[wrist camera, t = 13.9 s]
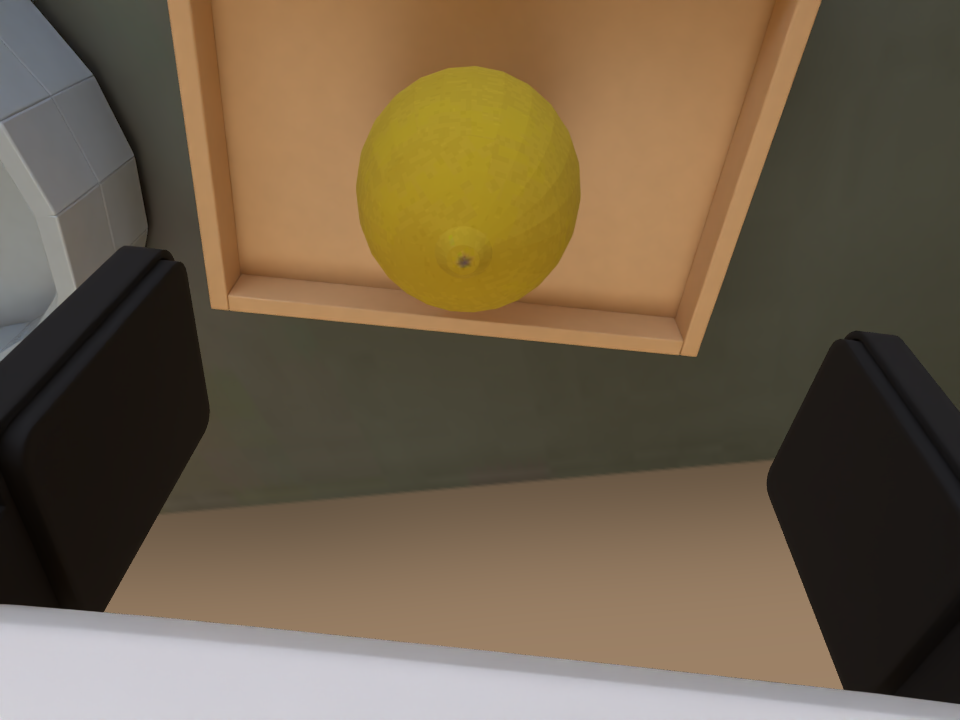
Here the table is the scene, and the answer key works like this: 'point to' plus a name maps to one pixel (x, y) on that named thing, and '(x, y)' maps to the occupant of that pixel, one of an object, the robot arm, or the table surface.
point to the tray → (555, 76)
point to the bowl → (56, 174)
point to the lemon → (468, 189)
